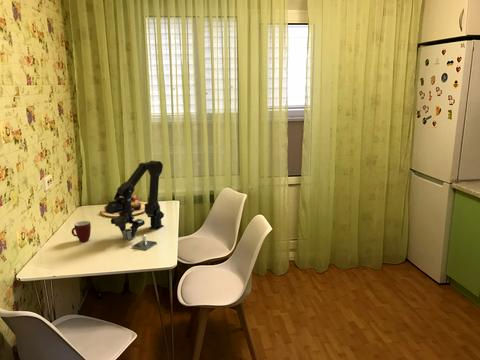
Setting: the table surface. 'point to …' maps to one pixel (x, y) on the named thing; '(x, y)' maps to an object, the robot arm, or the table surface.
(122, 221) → the robot arm
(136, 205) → the wooden plate with food
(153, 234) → the table surface
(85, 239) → the mug
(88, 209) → the table surface
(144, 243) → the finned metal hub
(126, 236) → the hub ring
